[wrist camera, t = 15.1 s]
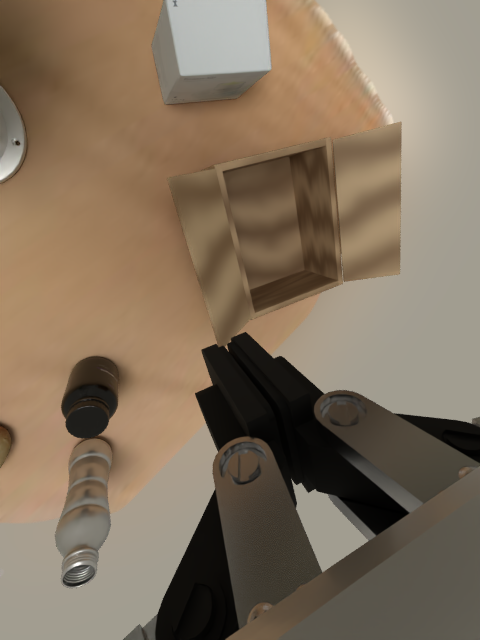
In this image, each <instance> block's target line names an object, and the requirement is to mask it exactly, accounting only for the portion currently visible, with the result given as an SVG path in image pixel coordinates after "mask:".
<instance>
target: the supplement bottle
mask: <svg viewBox="0 0 480 640" xmlns="http://www.w3.org/2000/svg"><path fill="white" fill-rule="evenodd" d="M118 384H119V375H118V370H117V368H116V366H115V365H114V364H113V363H112V362H111V361H109V360H107V359H105V358H101V357H90V358H87V359H84V360H82V361H80V362H79V363H78V364H77V365H76V366H75V367H74V368H73V370H72V372H71V375H70V377H69V381H68V384H67V387H66V390H65V393H64V396H63V400H62V404H61V410H62V413H63V415H64V417H65V419H66V427H67V430H68V432H69V433H70V434H71V435H73V436H75V437H77V438H91V437H95V436H97V435H99V434H101V433H102V432H103V431H104V430H105V429H106V427H107V425H108V422H109V419H110V418H111V417H112V416H113V415H114V413H115V412H116V410H117V406H118Z"/></svg>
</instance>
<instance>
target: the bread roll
mask: <svg viewBox="0 0 480 640" xmlns="http://www.w3.org/2000/svg"><path fill="white" fill-rule="evenodd" d="M10 447H11V438H10V435H9V433H8V431H7V429H4V428H3V427H1V426H0V468H1V466H2V465H3V463H4V461H5V459H6V457H7V455H8V452H9V450H10Z"/></svg>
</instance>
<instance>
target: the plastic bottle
mask: <svg viewBox="0 0 480 640" xmlns="http://www.w3.org/2000/svg"><path fill="white" fill-rule="evenodd" d="M112 458H113V457H112V451H111V448H110V446H109V444H108V443H107V442H105V441H103V440H101V439H97V438H93V439H88V440H85V441H83V442H81V443H80V444H78V445H77V446H76V447H75V448H74V450H73V452H72V454H71V456H70V458H69V463H68V469H69V486H68V493H67V497H66V501H65V505H64V508H63V511H62V514H61V517H60V519H59V522H58V525H57V529H56V532H55V541H56V547H57V549H58V550H59V552H60V554H61V555H62V556H63V557H64V560H63V562H62V575H61V583H62V585H63V586H65V587H67V588H77V587H81V586H83V585H86V584H87V583H89V582H90V581H91V580H92V579H93V578H94V577H95V575H96V572H97V562H98V558H99V554H98V550H99V549H100V548H101V546H102V545H103V543H104V542H105V540H106V538H107V536H108V533H109V530H110V526H111V523H110V522H111V521H110V511H109V505H108V491H107V484H108V477H109V471H110V468H111V464H112Z"/></svg>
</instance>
